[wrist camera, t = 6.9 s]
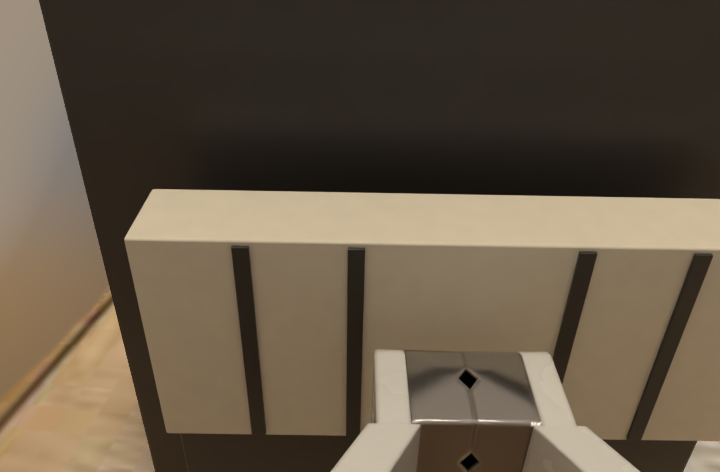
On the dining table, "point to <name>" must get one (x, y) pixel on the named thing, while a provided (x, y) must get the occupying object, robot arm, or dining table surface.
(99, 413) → the dining table surface
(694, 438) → the piano keyboard
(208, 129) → the toy piano
